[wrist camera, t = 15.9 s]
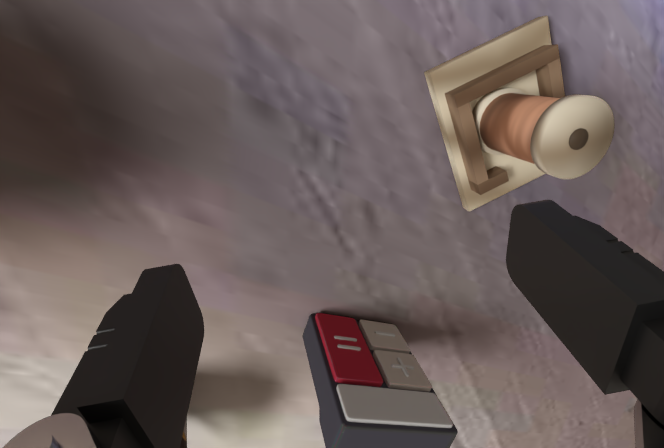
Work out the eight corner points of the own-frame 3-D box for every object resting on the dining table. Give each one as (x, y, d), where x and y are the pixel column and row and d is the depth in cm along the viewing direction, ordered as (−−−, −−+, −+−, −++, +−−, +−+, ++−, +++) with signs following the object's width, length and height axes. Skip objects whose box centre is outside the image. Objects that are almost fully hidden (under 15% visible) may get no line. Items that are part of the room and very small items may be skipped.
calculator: (398, 321, 47) (464, 426, 33) (385, 350, 48) (443, 463, 35) (311, 307, 43) (345, 418, 30) (299, 338, 45) (327, 459, 31)
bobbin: (461, 105, 37) (535, 119, 28) (519, 76, 37) (611, 80, 28) (477, 163, 40) (549, 193, 31) (531, 135, 40) (618, 157, 31)
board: (424, 72, 36) (439, 73, 34) (538, 17, 37) (562, 13, 34) (463, 207, 43) (478, 217, 40) (560, 159, 43) (581, 166, 41)
